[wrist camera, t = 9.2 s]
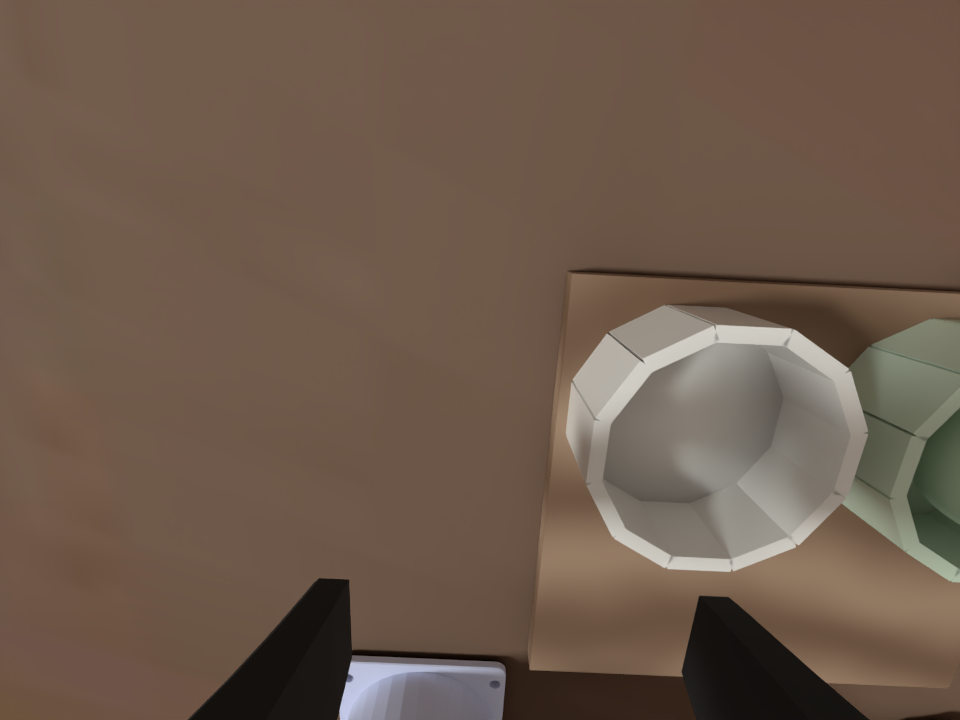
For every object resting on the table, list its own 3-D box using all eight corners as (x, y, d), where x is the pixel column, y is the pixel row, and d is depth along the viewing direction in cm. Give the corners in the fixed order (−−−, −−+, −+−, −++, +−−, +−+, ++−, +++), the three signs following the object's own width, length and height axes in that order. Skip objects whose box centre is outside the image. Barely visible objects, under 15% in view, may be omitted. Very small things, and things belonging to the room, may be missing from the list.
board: (927, 667, 22) (948, 688, 21) (527, 650, 21) (529, 669, 20) (1088, 298, 17) (1126, 302, 16) (567, 271, 16) (572, 273, 15)
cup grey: (759, 511, 18) (822, 576, 15) (557, 502, 18) (574, 564, 15) (811, 312, 16) (900, 334, 12) (580, 300, 16) (607, 319, 12)
